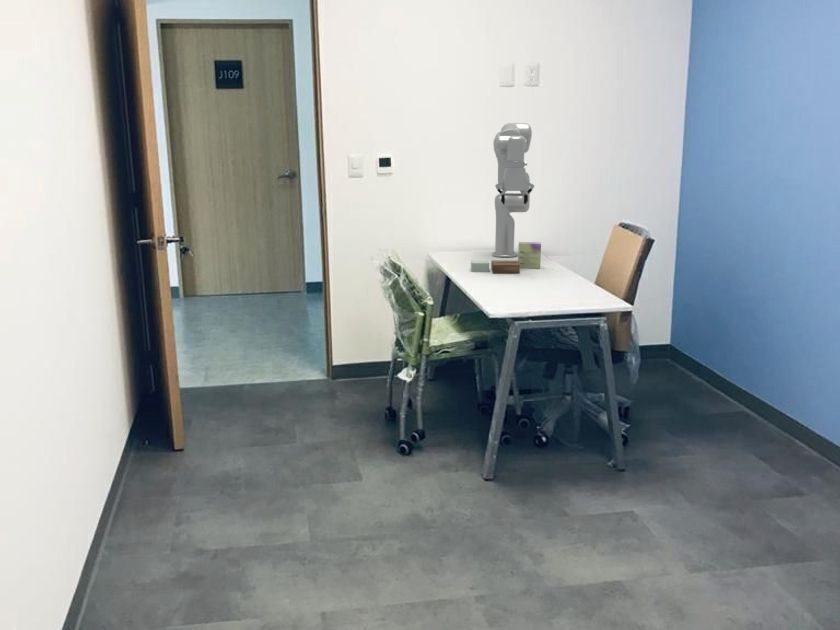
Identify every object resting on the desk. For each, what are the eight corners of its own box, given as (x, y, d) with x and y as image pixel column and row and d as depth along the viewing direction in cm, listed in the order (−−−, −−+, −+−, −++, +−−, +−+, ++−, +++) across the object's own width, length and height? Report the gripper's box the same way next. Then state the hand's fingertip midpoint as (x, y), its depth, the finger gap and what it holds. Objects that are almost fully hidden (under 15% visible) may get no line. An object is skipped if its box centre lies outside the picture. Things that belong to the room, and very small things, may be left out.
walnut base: (491, 268, 374) (491, 260, 373) (516, 268, 374) (517, 260, 373) (492, 273, 362) (493, 264, 361) (519, 273, 362) (519, 265, 361)
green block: (470, 268, 374) (471, 260, 373) (488, 268, 374) (488, 260, 373) (471, 271, 366) (471, 263, 366) (489, 271, 366) (489, 263, 365)
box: (539, 266, 380) (540, 241, 377) (540, 268, 374) (541, 243, 371) (517, 266, 381) (518, 241, 378) (517, 268, 375) (518, 243, 372)
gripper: (533, 164, 358) (532, 203, 362) (495, 164, 358) (494, 203, 362) (536, 165, 351) (534, 204, 355) (496, 165, 351) (495, 204, 355)
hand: (514, 203), depth 359 cm, fingers open, 9 cm apart
